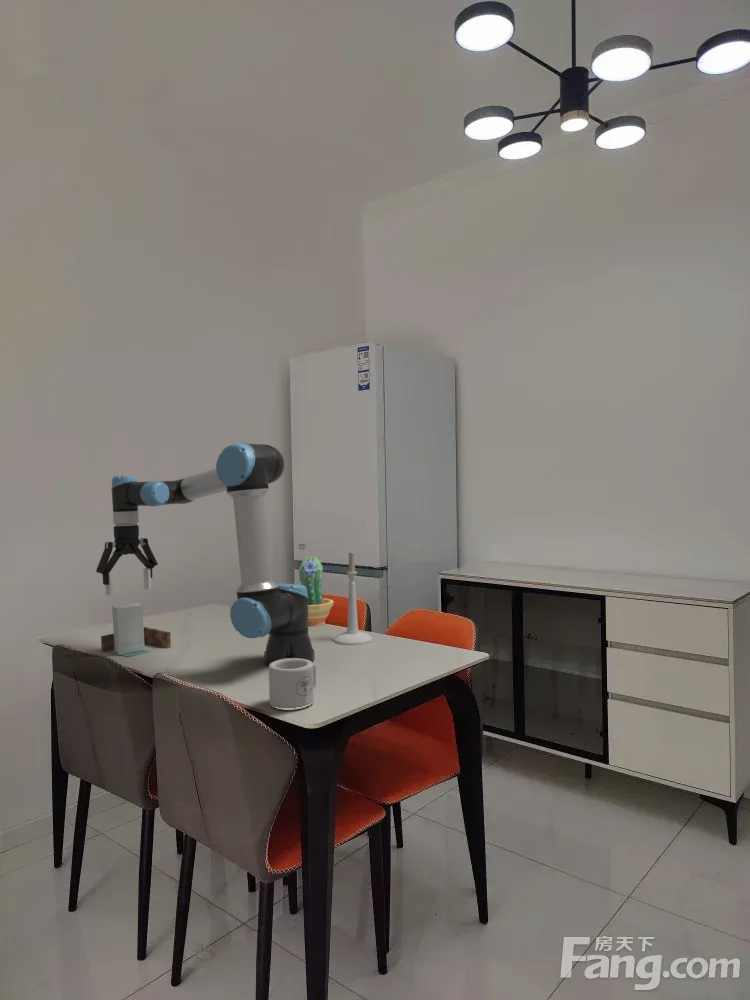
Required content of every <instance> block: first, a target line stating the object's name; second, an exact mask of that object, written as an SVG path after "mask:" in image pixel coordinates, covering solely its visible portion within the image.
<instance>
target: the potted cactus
mask: <svg viewBox="0 0 750 1000" xmlns="http://www.w3.org/2000/svg"><path fill="white" fill-rule="evenodd" d="M298 573H299V574H298V575H299V577H298V578H299V582H300V585H304V586H305V587H306V588H307V594H308V627H311V626H313V627H314V626H321V625H320V624H322V625H324V624H326V619H327V618H328V617H329V614H330V612H331V609H332V607H333V606H334V604H335V603H334V600H333V599H329V598H325V597H324V598H323V591H322V581H323V577H324V576H323V574H324V567H323V564H322V563H321V561H320V560H319V558H318V557H317V555H315V556H312V555H310V556H305V557H304V559H303V560H302V562H301V564H300V566H299V567H298Z"/></svg>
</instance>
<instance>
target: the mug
mask: <svg viewBox="0 0 750 1000" xmlns="http://www.w3.org/2000/svg"><path fill="white" fill-rule="evenodd" d="M268 686H269V689H268V690H269V691H268V693H269V698H268V699H269V700H268V702H269V706H270V705H271V706H273V707H278V708H296V707H302V706H305V705H308V704H310V703H312V702H313V700H314V698H315V697H314V689H315V687H317V665H316V664H315V663H314V662H311V661H309V660H306V659H300V658H288V659H281V660H277V661H274V662H272V663H271V664H270V665H268ZM313 703H314V702H313ZM273 707H272V708H273Z"/></svg>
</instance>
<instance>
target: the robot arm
mask: <svg viewBox="0 0 750 1000" xmlns="http://www.w3.org/2000/svg"><path fill="white" fill-rule="evenodd" d="M215 464H216V465H215V468H213V469H210V470H209V469H208V470H207V471H206V470H205V471H203V472H200V473H197V474H193V475H190V476H187V477H183V478H179V479H177V480H150V481H138V480H137V479H138V478H137V476H136V475H117V476H113V477H112V479H111V490H110V491H111V500H112V501H111V502H112V517H113V520H112V522H113V524H114V527H113V538H114V541H113V542H112V541H105V543H104V550H103V552H102V555H101V558H100V560H99V563H98V564H97V567H96V569H95V571H96V573H97V574H101V575H102V584H103V585H104V586H105V588H104V589H105V596H110V597H111V596H114V593H113V592H114V591H113V574H112V573H111V572H112V570H113V568H115V565H116V564H117V562H118V561H119V559H120V558H121V557H123V555H125V556H126V555H132V554H133V555H134V556H135V557H136V558H137V559H138V561H140V563H141V564H142V565H143V566H144V568H142V569H143V589H144V590H151V589H152V580H151V579H152V578H153V569H155V566H158V565H159V564H158V561H157V559H156V557H155V554H154V553H153V551H152V550H151V547H150V544H149V540H148V538H146V537H144V538H143V537H141V538H139V537H140V527H139V525H138V523H139V521H140V520H139V508H138V507H143V506H144V507H148V506H149V507H158V506H159V507H160V506H164V505H185V504H190V503H192V502H194V501H195V500H196V499H197V500H198V499H200V498H204V497H207V496H211V495H215V494H218V493H223V492H226V494H227V495H228V496H229V497H231V498H232V500H233V510H234V522H235V532H236V540H237V541H236V542H237V551H238V563H239V564H238V565H239V572H240V584H239V587H238V588H237V589H236V600H234V602H233V603H232V606H231V607H230V610H229V612H230V613H229V617H230V622H231V625H232V626H233V628H234V629H235V630H236V631H237V632H239V634H240V635H241V636H242V637H244V638H247V639H258V638H263V637H266V636H268V639H267V643H266V646H265V651H264V653H263V663H264V664H266V665H267V666H269V665H270V664H271V663H272V662H274V661H277V660H281V659H288V658H300V659H306V660H309V661H311V662H312V663H314V661H315V658H316V657H315V650H314V648H313V645H312V641H311V638H310V634H309V626H308V594H307V588H306V587H305V586H304V585H302V584H296V583H276V582H274V581H273V577H272V576H273V575H272V567H271V566H272V565H271V564H272V563H271V557H270V556H271V555H270V545H269V543H270V542H269V536H268V535H269V534H268V524H267V522H268V521H267V514H266V503H265V495H266V494H267V493H268V491H269V490H270V489H269V485H270V484H272V483H274V482H277V481H278V480H279V479H280V478H281V476H282V475H283V473H284V471H285V470H284V469H285V459H284V457H283V454H282V452H280V451H279V450H278V448H276V447H274V446H272V445H269V444H257V443H247V442H244V443H243V442H242V443H241V442H240V443H233V444H229V445H228V446H226V447H224V448H223V449H222V451H221V453H219V455H218V457H217V460H216V463H215ZM139 546H140V547H141V549H142V550H141V549H140V548H139ZM113 550H114V551H113ZM142 551H143V552H142ZM111 554H112V555H111Z"/></svg>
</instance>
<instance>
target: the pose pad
mask: <svg viewBox="0 0 750 1000" xmlns="http://www.w3.org/2000/svg"><path fill="white" fill-rule="evenodd" d="M150 652H151V650H148V649H145V650H143V651H137V652H131V653H126V654H121V655H119V654H118V653H117V652H116V651H115V650H111V651H109V653H110V654H115V655H119V656H121V657H125V658H129V657H134V656H135V657H136V656H139V655H142V654H146V653H150Z"/></svg>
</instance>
